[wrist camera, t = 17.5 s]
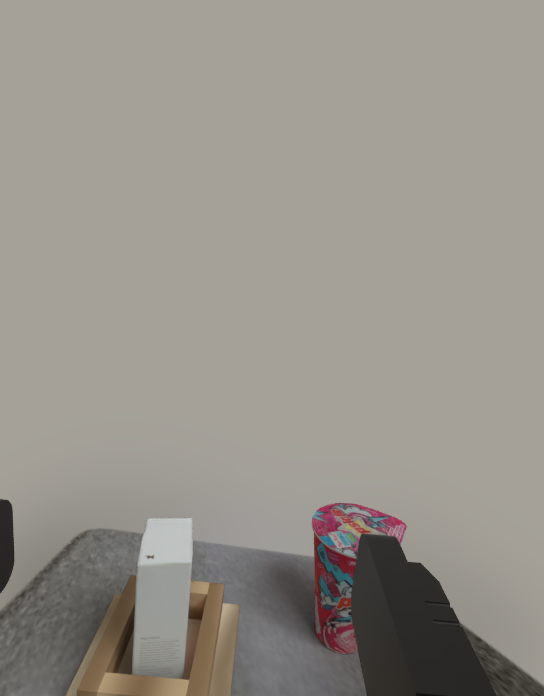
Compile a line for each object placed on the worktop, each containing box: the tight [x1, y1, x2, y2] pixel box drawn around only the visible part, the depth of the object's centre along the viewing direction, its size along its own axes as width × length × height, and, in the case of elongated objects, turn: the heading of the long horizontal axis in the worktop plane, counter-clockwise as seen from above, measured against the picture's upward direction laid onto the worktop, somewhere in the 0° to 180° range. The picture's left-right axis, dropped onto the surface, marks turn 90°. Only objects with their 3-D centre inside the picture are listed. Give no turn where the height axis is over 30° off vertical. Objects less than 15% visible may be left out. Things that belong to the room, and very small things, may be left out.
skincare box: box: [132, 518, 193, 679], centre depth 35 cm, size 6×4×12 cm
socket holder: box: [66, 575, 240, 696], centre depth 36 cm, size 13×13×4 cm
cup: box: [312, 503, 406, 654], centre depth 41 cm, size 9×8×12 cm
